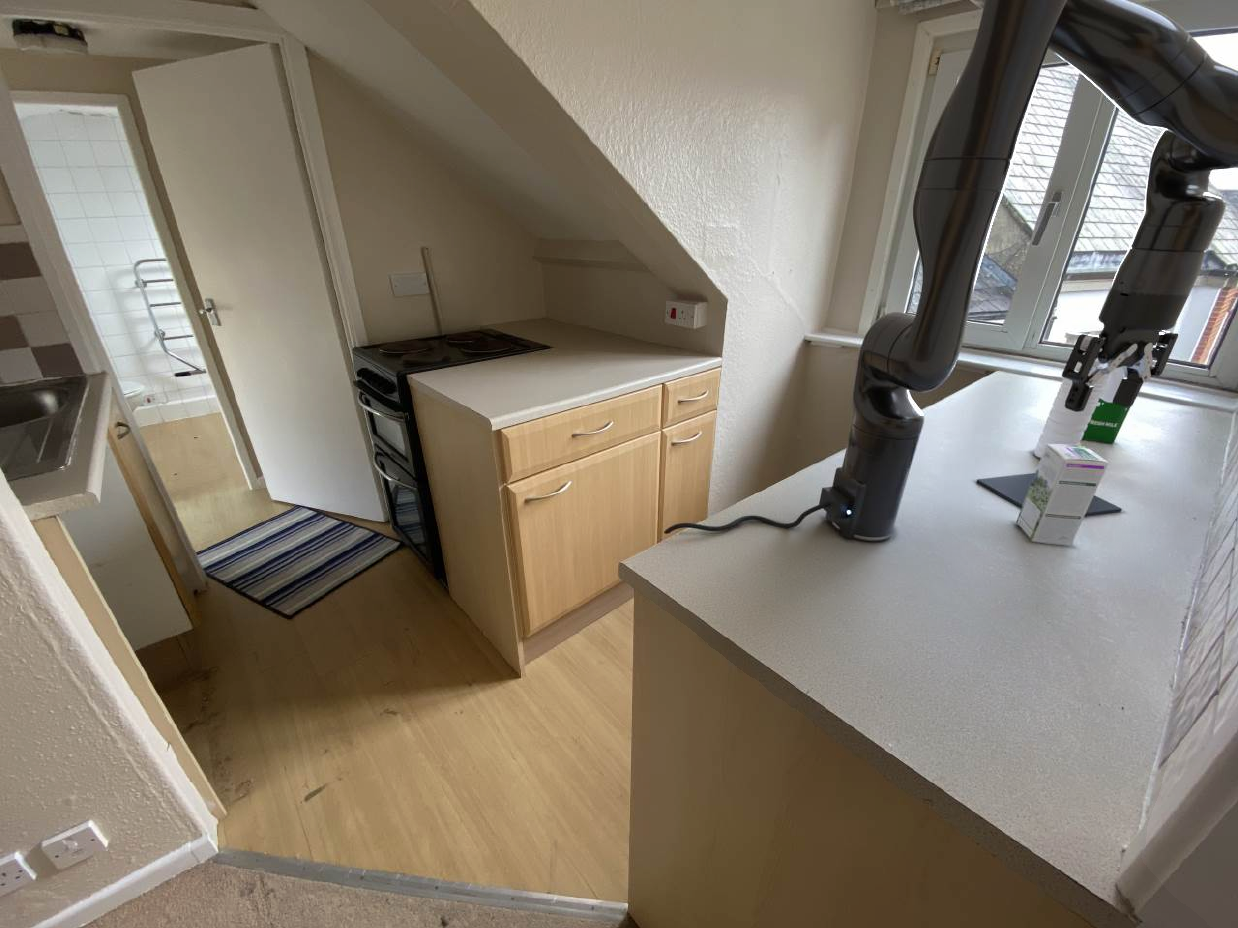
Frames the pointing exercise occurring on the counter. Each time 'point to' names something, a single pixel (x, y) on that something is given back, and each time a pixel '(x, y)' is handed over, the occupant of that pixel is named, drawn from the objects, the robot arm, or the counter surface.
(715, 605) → the counter surface
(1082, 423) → the water bottle
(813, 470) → the counter surface
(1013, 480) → the mat
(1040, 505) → the syrup box
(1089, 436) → the milk carton
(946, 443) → the counter surface
